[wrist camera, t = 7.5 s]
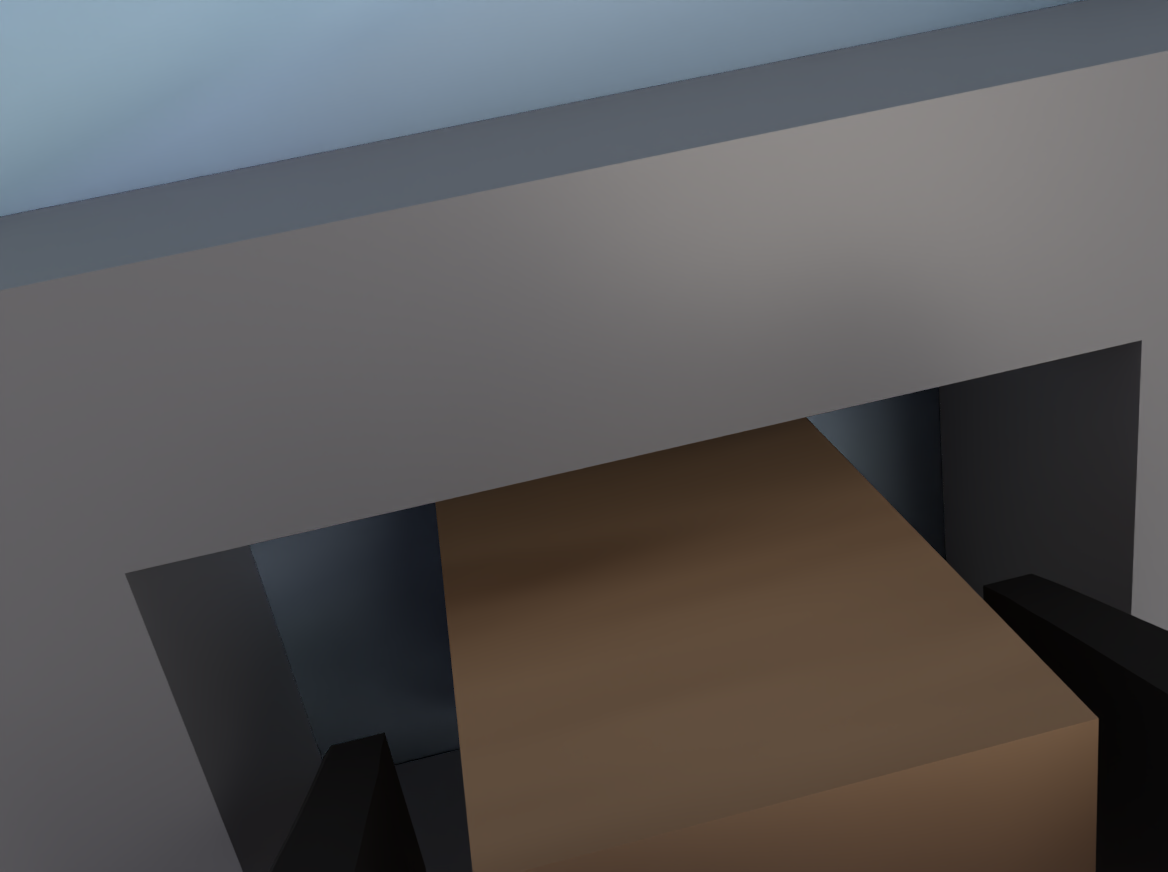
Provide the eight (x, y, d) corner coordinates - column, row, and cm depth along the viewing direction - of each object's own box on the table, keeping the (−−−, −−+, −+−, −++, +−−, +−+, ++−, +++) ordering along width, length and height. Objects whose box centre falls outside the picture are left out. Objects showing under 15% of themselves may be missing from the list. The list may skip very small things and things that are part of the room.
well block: (1176, 702, 21) (1397, 902, 16) (119, 978, 19) (36, 1288, 15) (1221, -28, 16) (1562, -30, 11) (-227, 262, 14) (-523, 397, 9)
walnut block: (781, 629, 19) (1089, 1129, 11) (496, 700, 18) (588, 1278, 10) (749, 358, 17) (1098, 718, 9) (427, 431, 16) (473, 883, 8)
